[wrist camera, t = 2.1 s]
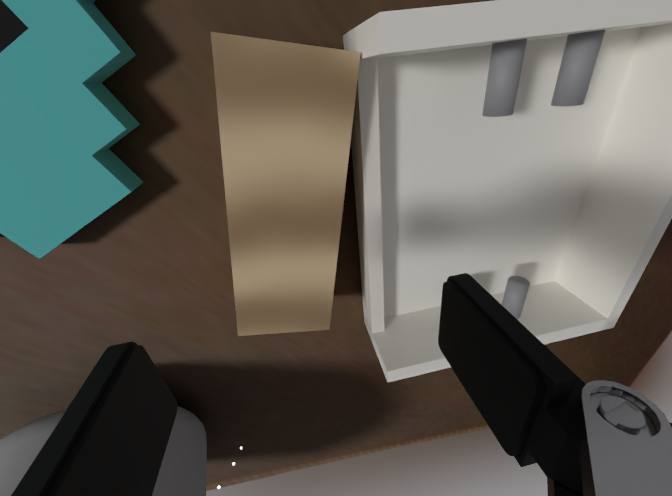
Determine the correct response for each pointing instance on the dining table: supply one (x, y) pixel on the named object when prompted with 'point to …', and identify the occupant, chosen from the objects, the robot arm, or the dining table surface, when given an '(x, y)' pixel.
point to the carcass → (509, 163)
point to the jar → (175, 472)
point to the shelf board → (283, 175)
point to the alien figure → (59, 120)
